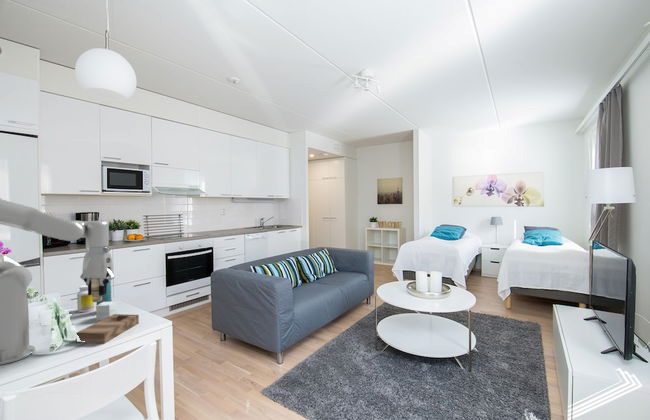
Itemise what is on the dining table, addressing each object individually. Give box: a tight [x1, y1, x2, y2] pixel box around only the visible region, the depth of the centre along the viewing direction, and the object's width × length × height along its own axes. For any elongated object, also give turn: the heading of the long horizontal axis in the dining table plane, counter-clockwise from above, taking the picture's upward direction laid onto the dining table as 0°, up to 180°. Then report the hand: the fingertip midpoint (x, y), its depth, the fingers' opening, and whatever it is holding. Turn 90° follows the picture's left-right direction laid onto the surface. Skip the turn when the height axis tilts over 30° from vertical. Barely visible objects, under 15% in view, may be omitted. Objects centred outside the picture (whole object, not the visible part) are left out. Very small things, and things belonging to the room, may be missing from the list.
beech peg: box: [91, 278, 102, 303], centre depth 125 cm, size 4×4×10 cm
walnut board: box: [75, 313, 140, 344], centre depth 131 cm, size 20×12×4 cm, turn 176°
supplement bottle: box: [76, 284, 95, 313], centre depth 157 cm, size 7×7×13 cm
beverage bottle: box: [95, 279, 112, 306], centre depth 155 cm, size 6×7×20 cm
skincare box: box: [95, 300, 117, 322], centre depth 147 cm, size 6×6×7 cm
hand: (97, 294), depth 125 cm, fingers closed on beech peg, 4 cm apart
